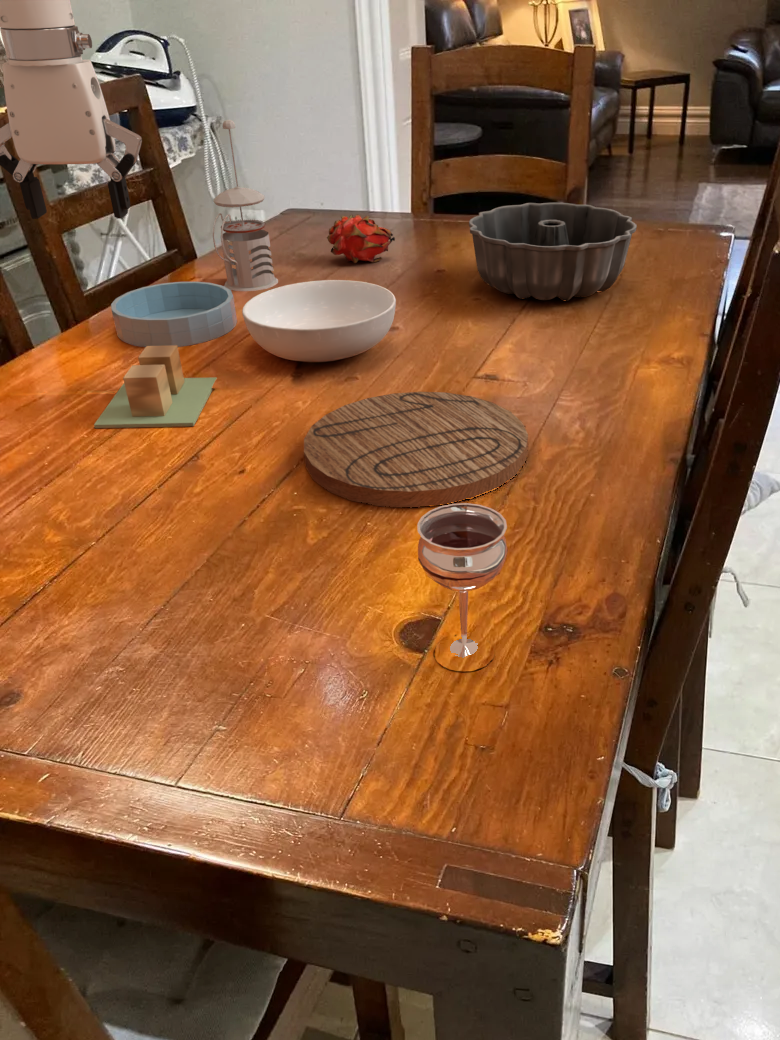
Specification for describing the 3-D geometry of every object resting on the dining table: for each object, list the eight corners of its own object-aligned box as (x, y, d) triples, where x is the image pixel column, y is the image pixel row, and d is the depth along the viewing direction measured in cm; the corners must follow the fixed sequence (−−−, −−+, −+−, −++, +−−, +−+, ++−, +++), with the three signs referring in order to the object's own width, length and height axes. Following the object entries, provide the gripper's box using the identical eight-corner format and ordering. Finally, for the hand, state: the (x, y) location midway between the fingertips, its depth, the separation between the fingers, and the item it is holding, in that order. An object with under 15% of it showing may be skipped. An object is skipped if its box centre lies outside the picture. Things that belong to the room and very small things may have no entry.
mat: (94, 428, 112) (93, 424, 112) (127, 382, 124) (126, 379, 123) (193, 426, 112) (193, 422, 112) (217, 380, 123) (217, 377, 123)
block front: (132, 416, 113) (122, 377, 111) (141, 403, 117) (132, 365, 114) (164, 416, 113) (156, 377, 110) (172, 402, 117) (164, 364, 114)
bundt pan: (665, 289, 150) (673, 224, 144) (537, 324, 138) (539, 255, 132) (560, 253, 168) (562, 194, 162) (438, 281, 156) (436, 219, 150)
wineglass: (486, 688, 72) (486, 558, 65) (408, 666, 75) (400, 538, 68) (518, 638, 77) (521, 513, 70) (444, 619, 79) (440, 496, 72)
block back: (146, 395, 119) (137, 357, 116) (154, 382, 122) (146, 345, 119) (177, 394, 119) (169, 356, 116) (184, 382, 122) (177, 345, 119)
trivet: (272, 436, 109) (270, 421, 108) (457, 390, 119) (457, 376, 118) (362, 532, 91) (361, 515, 90) (572, 468, 101) (573, 452, 100)
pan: (103, 352, 133) (95, 321, 130) (136, 311, 147) (130, 282, 144) (224, 349, 133) (219, 318, 130) (246, 309, 147) (242, 280, 144)
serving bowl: (318, 316, 143) (313, 270, 139) (427, 342, 133) (426, 293, 129) (217, 359, 130) (208, 310, 126) (331, 391, 119) (325, 339, 115)
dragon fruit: (325, 269, 168) (391, 276, 170) (324, 251, 160) (394, 259, 161) (328, 223, 168) (394, 230, 170) (327, 202, 160) (397, 210, 161)
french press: (292, 280, 158) (273, 116, 144) (250, 301, 150) (225, 128, 135) (246, 273, 162) (222, 113, 147) (202, 293, 154) (173, 125, 139)
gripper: (133, 42, 102) (162, 208, 112) (-24, 44, 102) (19, 208, 112) (113, 50, 96) (145, 223, 106) (-54, 51, 96) (-6, 224, 106)
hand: (80, 216), depth 109 cm, fingers open, 9 cm apart
